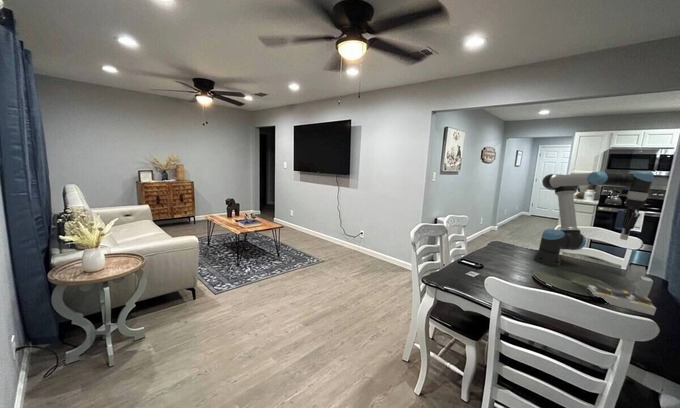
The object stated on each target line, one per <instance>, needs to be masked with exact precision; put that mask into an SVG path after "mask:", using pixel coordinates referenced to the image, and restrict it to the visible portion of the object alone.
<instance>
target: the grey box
mask: <svg viewBox="0 0 680 408" xmlns="http://www.w3.org/2000/svg"><path fill="white" fill-rule="evenodd" d="M640 276H643V277H646V266H641V265H636V264H630V266H629V267H628V268H627V271H626V273H625V276H624V279H626V280H627V281H631V282H635V283H638V281H639V279H640Z"/></svg>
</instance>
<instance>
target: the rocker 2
mask: <svg viewBox="0 0 680 408" xmlns="http://www.w3.org/2000/svg"><path fill="white" fill-rule="evenodd" d="M610 290H611V292H612V293H613V294H614V295H618V296H627V297H630V295H631V293H629V292H628V291H627V290H621V289H615V288H614V289H613V288H611V289H610Z"/></svg>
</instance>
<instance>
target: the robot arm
mask: <svg viewBox="0 0 680 408" xmlns="http://www.w3.org/2000/svg"><path fill="white" fill-rule="evenodd" d="M654 176H655V173H654V172H649V171H648V172H647V171H637V170H635V172H634V173H633V174H631V173H622V172H609V171H592V172H586V173H585V172H584V173H572V174H561V173H559V174H558V173H557V174H556V173H550V174H547V175H544V177H543V178H542V186H543V187H544V188H545V189H547V190H549V191H550V190H551V191H554V195H556V196H557V199H558V201H557V202H558V209H559V218H560V219H559V220H560V229H553V228H547V229H545V230H544V231H543V232H542V234H541V237H540V243H539V248H538V250H537V251H536V252H535V254H534V256H533V260H534V261H535V262H537V263H539V264H542V265H544V266H549V267H550V266H551V267H559V266H560V265H561V258H560V252H561V250H568V251H569V250H571V251H578V250H582V249H583V248H584V247H585V246H586V244H587V239H586V238H587V237H585V235H584V234H582V233H581V230H580V229H579V228H578V225H577V216H576V208H575V207H576V206H575V200H574V199H575V197H574V194H576V192H577V190H578V189H579V187H580V186H611V187H612V186H613V187H625V188H629V189H628V192H627V195H626V199H625V201H624V205H625V206H628V207H627V208H624V210H623V212H624V213H623V216H622V217H623V218H622V222H621V226H622V231H621V234H620V236H619V239H620V240H624V241H628V239H629V236H630V232H631V230H634V227H635V226H636V224H637V222H638V219H639V217H640V216H641V213H639V212H640V208H642V209H643V208H645V206H646V201H647V198H648V197H649V196H650V195H649V193H650V189H651V186H652V184H653V181H654Z"/></svg>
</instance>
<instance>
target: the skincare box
mask: <svg viewBox="0 0 680 408" xmlns="http://www.w3.org/2000/svg"><path fill="white" fill-rule="evenodd" d="M653 284H654V280H653V279H651V278H650V277H646V276H644V277H643V276H640V279H639V281H638V282H637V284H636V287H635V289H634V293H636V294H639V295H641V296H644V297H647V298H649V297H648V296H649V294H650V291H651V290H652V286H653Z"/></svg>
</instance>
